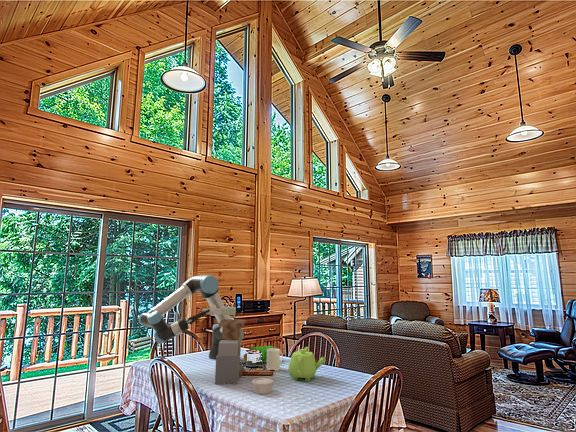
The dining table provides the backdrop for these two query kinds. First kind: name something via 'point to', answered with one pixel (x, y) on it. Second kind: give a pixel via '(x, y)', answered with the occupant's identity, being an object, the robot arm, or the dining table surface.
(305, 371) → the teapot
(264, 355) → the decorative tree
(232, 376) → the stepped grey block
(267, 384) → the ramekin
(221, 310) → the handled block
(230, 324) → the walnut stand
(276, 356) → the mug
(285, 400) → the dining table surface
